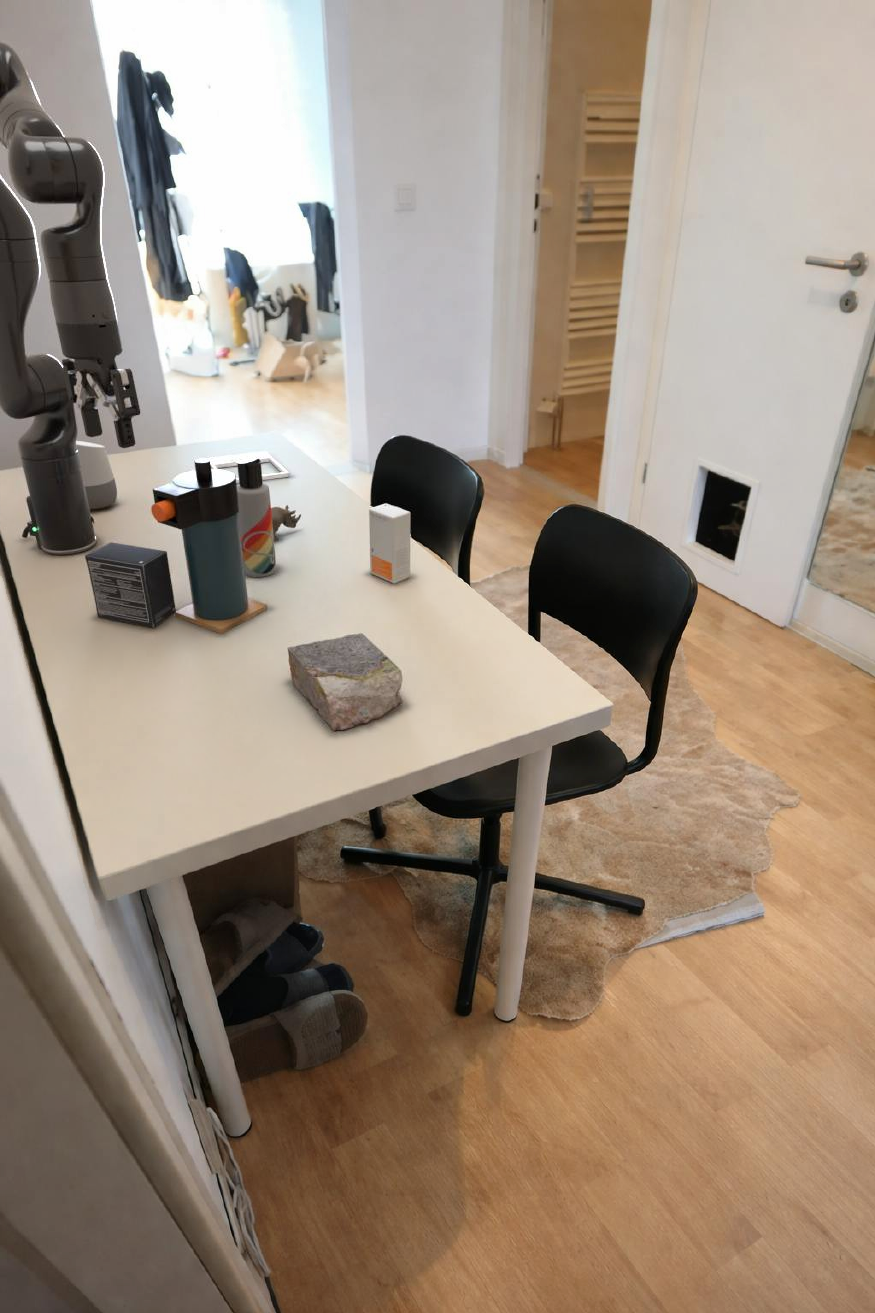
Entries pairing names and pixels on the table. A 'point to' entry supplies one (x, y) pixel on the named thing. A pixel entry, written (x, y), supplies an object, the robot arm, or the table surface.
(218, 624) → the coaster
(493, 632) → the table surface
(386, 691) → the geological specimen
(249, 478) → the lotion bottle
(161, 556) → the small box
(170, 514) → the button
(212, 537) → the drink bottle
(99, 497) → the smart speaker
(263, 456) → the photo frame
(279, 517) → the rhino figurine
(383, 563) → the cosmetic box
